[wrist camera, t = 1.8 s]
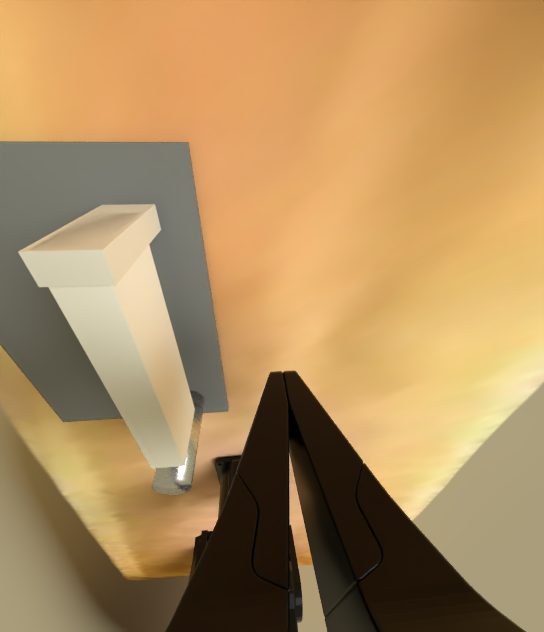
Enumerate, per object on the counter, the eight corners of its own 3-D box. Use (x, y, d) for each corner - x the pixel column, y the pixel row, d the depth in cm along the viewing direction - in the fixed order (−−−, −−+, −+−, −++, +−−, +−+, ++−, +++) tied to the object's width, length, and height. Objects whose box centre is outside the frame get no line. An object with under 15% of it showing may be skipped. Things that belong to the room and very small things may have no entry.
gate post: (206, 403, 23) (194, 493, 17) (179, 405, 23) (157, 496, 17) (202, 385, 22) (187, 477, 16) (173, 387, 22) (147, 480, 16)
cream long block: (200, 392, 21) (187, 467, 16) (169, 394, 20) (147, 470, 16) (155, 204, 12) (102, 249, 8) (102, 204, 12) (18, 251, 8)
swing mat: (228, 407, 24) (228, 411, 23) (65, 417, 23) (63, 422, 22) (188, 142, 12) (186, 142, 12) (-153, 140, 11) (-165, 141, 11)
